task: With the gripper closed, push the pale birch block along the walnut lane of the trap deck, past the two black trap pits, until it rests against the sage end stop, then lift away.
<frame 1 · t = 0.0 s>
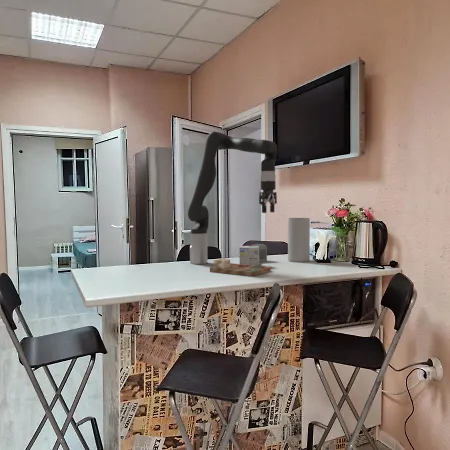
hand: (268, 212, 202), 29 cm above the table, fingers open, 8 cm apart
cylinder vase: (298, 261, 234), on the table
trap deck: (240, 271, 200), on the table
birch block: (221, 267, 201), point 2 cm above the table, touching trap deck
light bulb box: (249, 266, 217), on the table
cassette player: (254, 262, 233), on the table
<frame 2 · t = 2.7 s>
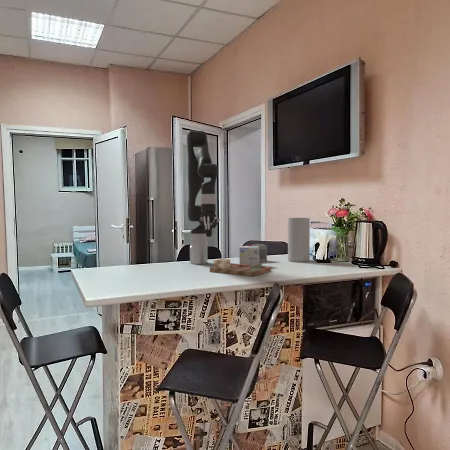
hand: (208, 236, 205), 17 cm above the table, fingers closed
nothing on the table moved.
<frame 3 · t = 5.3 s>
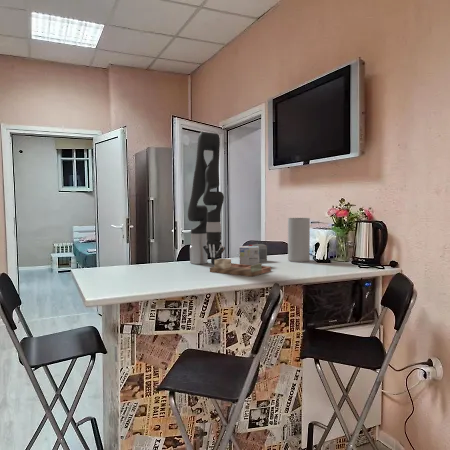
hand: (214, 264, 203), 3 cm above the table, fingers closed
birch block: (222, 267, 201), point 2 cm above the table, touching gripper, trap deck
everything else where it was.
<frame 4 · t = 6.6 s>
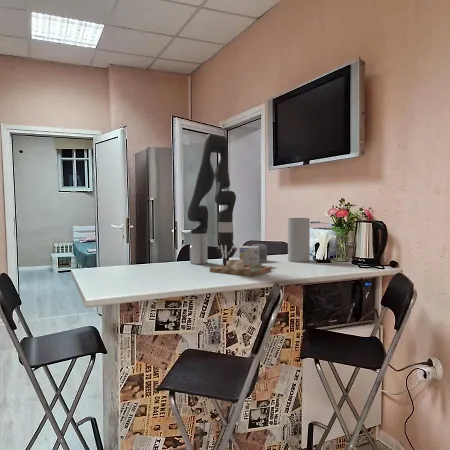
hand: (226, 265, 199), 3 cm above the table, fingers closed
birch block: (234, 268, 196), point 2 cm above the table, touching gripper
everything else where it was.
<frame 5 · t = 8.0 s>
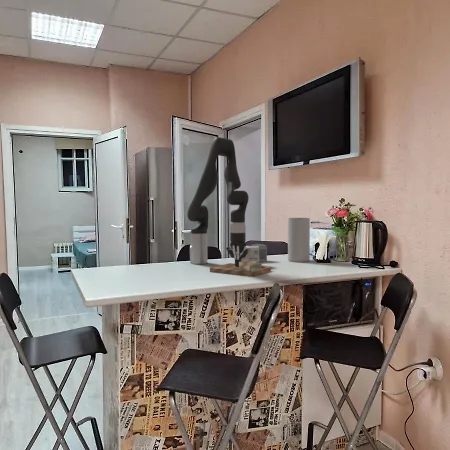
hand: (238, 266, 195), 3 cm above the table, fingers closed
birch block: (247, 269, 193), point 2 cm above the table, touching gripper
everything else where it was.
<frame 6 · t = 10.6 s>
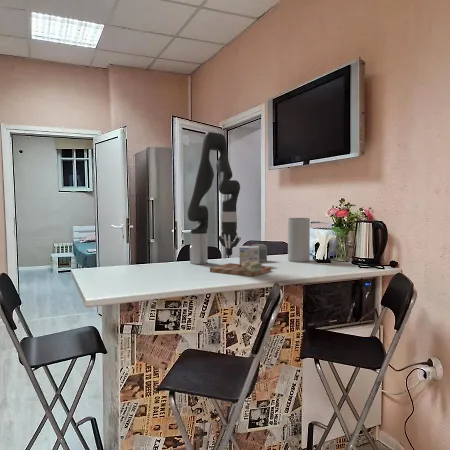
hand: (229, 255, 198), 8 cm above the table, fingers closed
birch block: (250, 270, 192), point 2 cm above the table, touching trap deck
everything else where it was.
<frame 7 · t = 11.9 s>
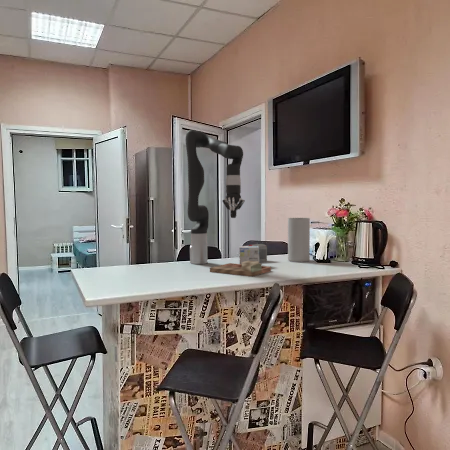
hand: (233, 217, 207), 27 cm above the table, fingers closed
nothing on the table moved.
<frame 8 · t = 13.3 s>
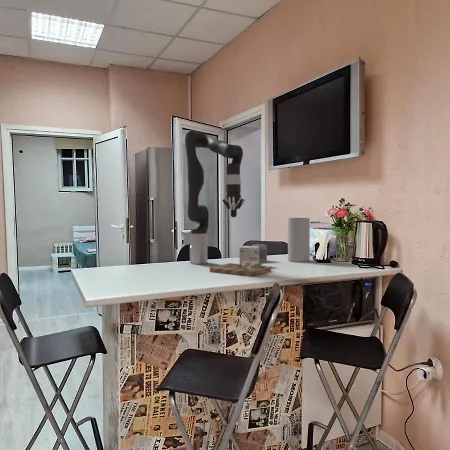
hand: (233, 217, 207), 27 cm above the table, fingers closed
nothing on the table moved.
at the end: birch block 0.5 cm from the target spot on the trap deck, point 2.0 cm above the trap deck's base; birch block tilted 0° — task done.
